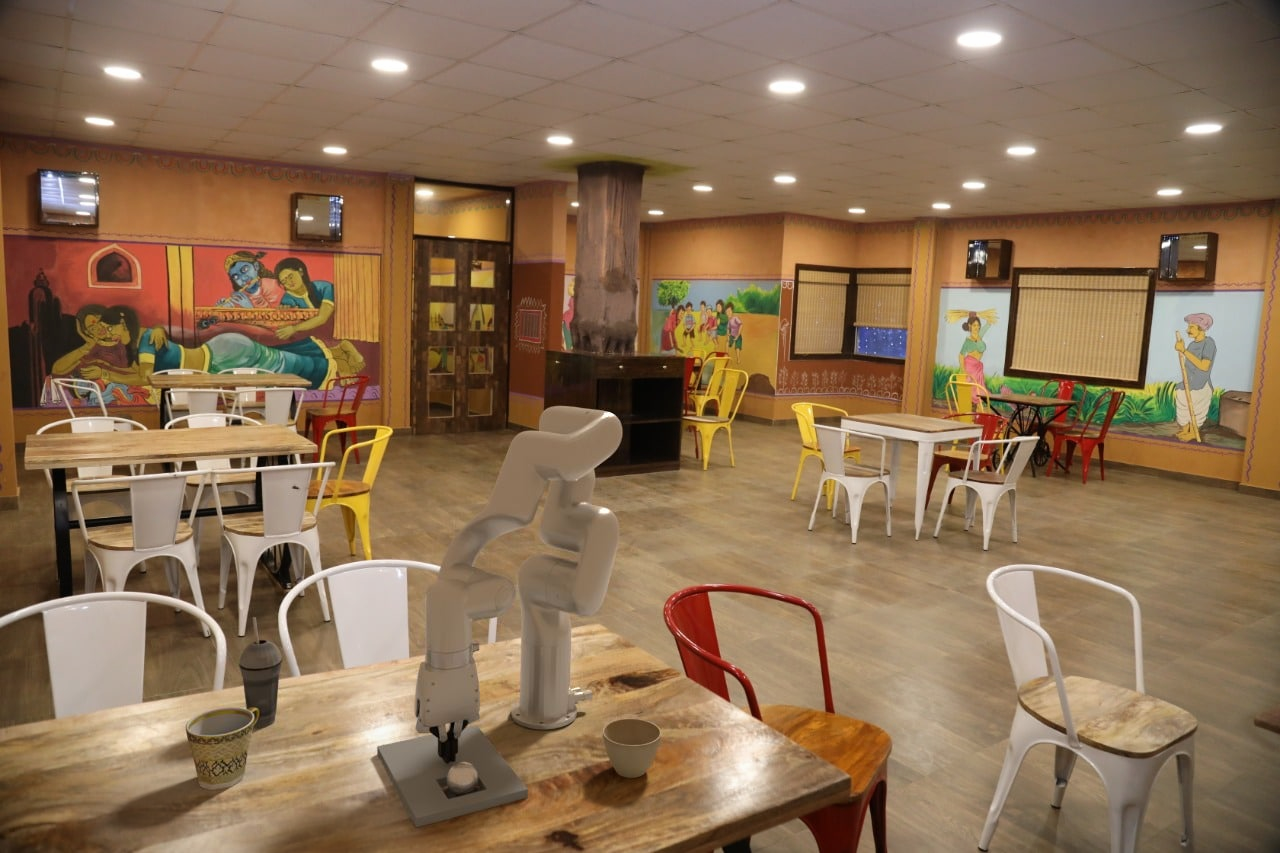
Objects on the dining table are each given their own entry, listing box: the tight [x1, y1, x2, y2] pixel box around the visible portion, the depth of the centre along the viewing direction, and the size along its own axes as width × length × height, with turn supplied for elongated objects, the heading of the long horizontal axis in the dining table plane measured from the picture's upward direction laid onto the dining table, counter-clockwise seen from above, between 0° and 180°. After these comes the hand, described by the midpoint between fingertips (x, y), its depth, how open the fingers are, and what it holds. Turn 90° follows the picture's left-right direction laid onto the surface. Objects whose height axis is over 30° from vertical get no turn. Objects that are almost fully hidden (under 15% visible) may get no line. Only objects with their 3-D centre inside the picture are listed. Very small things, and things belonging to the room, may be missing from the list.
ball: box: [446, 762, 478, 795], centre depth 139 cm, size 5×5×5 cm
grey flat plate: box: [376, 724, 529, 828], centre depth 145 cm, size 18×24×2 cm
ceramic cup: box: [185, 706, 259, 791], centre depth 142 cm, size 13×10×10 cm
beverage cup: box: [238, 616, 283, 729], centre depth 159 cm, size 7×7×20 cm
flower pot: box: [602, 717, 662, 779], centre depth 148 cm, size 10×10×7 cm
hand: (447, 758), depth 146 cm, fingers closed
